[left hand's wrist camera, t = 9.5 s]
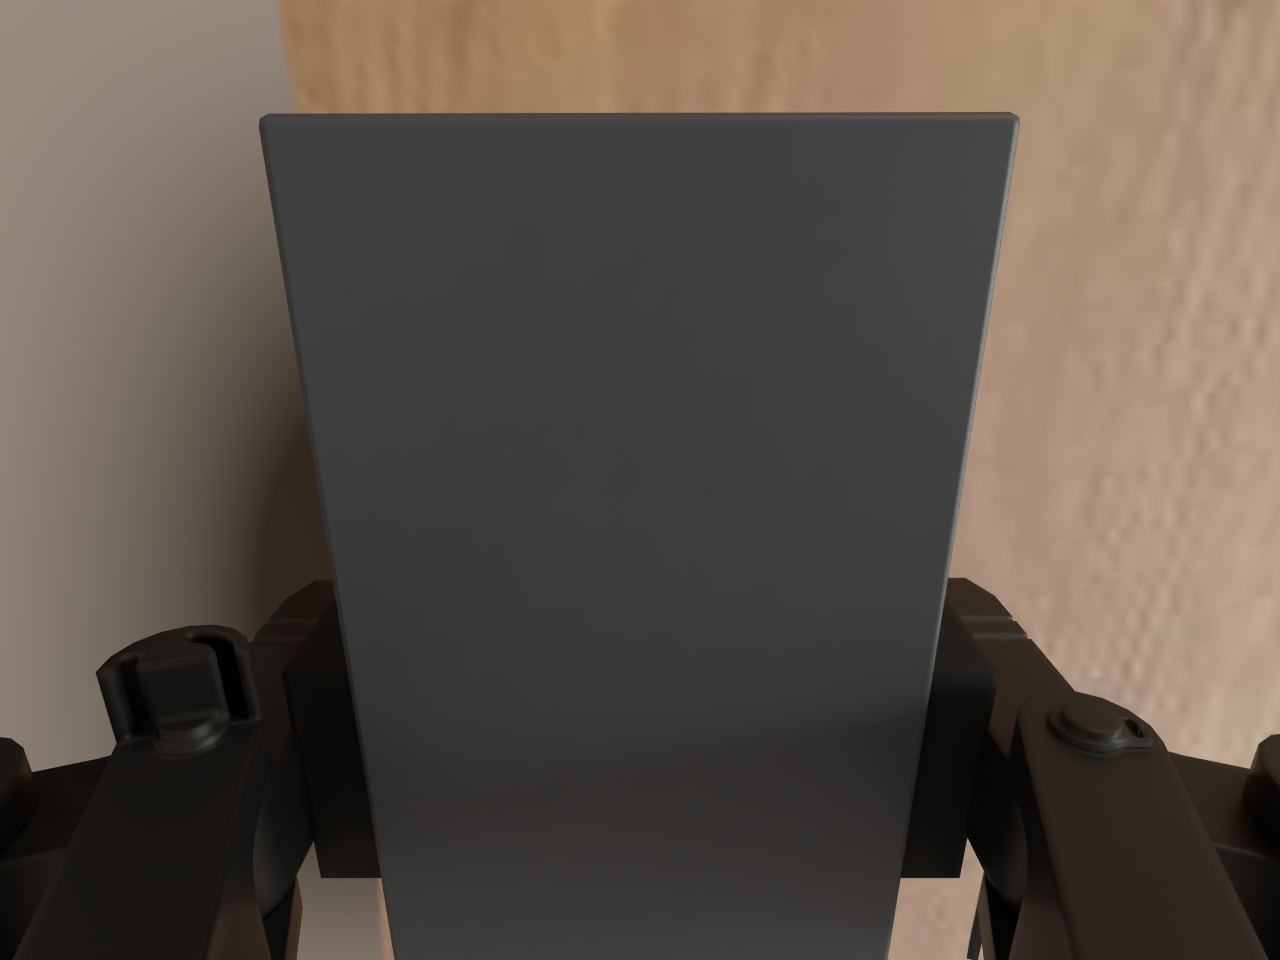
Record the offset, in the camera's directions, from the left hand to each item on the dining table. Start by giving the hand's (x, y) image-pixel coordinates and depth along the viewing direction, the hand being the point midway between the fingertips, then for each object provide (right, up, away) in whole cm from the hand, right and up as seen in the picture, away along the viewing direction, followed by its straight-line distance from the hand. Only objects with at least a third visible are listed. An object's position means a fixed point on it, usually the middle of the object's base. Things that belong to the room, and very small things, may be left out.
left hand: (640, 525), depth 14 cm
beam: (0, -21, +9) cm, 23 cm away
